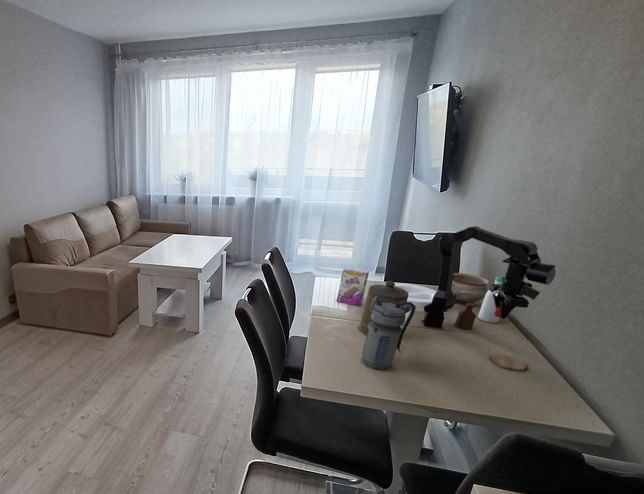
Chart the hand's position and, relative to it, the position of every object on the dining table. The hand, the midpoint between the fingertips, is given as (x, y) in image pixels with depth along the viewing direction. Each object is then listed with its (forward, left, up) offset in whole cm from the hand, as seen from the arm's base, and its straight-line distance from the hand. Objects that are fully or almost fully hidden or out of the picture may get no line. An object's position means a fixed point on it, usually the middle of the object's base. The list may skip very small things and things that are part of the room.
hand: (500, 316), depth 156 cm
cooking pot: (+4, +55, -14) cm, 56 cm away
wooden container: (-40, +1, -14) cm, 42 cm away
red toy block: (0, 0, 0) cm, 0 cm away
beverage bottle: (-43, -29, -14) cm, 54 cm away
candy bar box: (-50, +32, -14) cm, 61 cm away
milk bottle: (+9, +33, -14) cm, 36 cm away
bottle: (-4, +19, -13) cm, 24 cm away
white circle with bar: (-21, +45, -14) cm, 52 cm away
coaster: (+2, -12, -13) cm, 18 cm away
